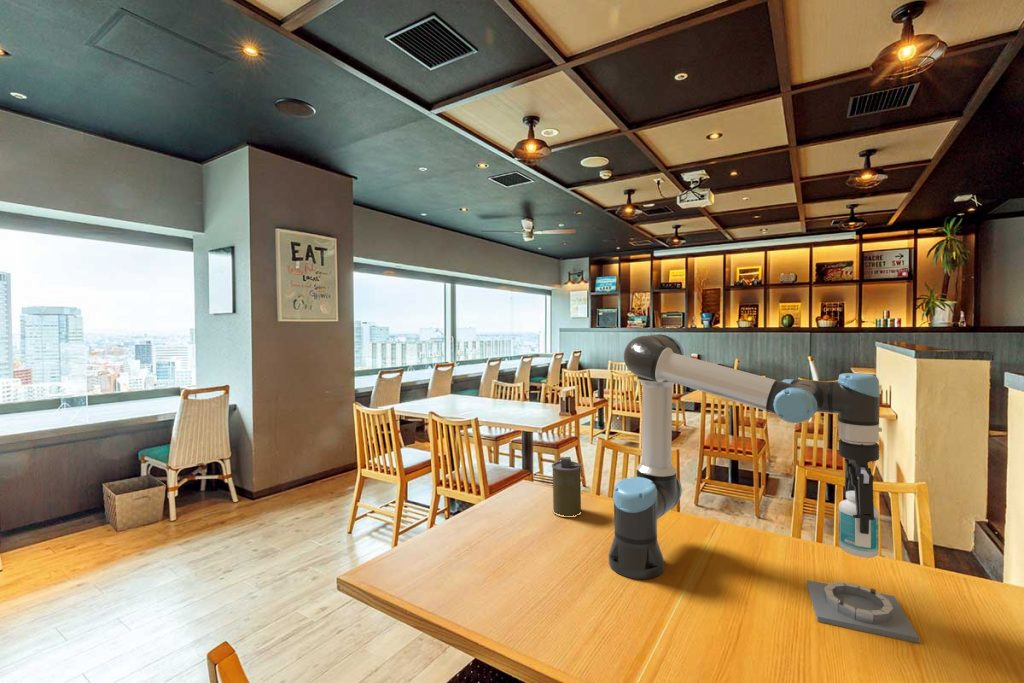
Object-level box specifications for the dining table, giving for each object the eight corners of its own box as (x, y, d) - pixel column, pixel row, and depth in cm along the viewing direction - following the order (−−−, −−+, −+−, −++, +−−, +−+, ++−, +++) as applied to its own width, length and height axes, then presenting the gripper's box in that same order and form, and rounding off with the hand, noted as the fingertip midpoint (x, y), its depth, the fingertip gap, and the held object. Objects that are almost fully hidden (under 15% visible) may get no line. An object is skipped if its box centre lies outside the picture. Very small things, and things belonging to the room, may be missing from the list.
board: (817, 621, 104) (817, 616, 104) (806, 584, 119) (806, 579, 119) (919, 643, 97) (919, 637, 96) (894, 600, 111) (894, 595, 111)
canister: (551, 517, 163) (550, 462, 162) (553, 505, 173) (552, 453, 172) (582, 519, 161) (581, 462, 160) (583, 507, 171) (582, 454, 170)
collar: (830, 614, 104) (830, 603, 104) (820, 585, 116) (820, 575, 116) (900, 629, 99) (900, 617, 99) (882, 597, 111) (882, 586, 110)
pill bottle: (886, 560, 102) (886, 501, 102) (848, 558, 104) (848, 499, 103) (867, 544, 110) (867, 488, 109) (832, 542, 111) (832, 487, 111)
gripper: (893, 454, 95) (892, 562, 96) (866, 431, 113) (866, 522, 114) (849, 450, 98) (849, 555, 99) (829, 429, 117) (829, 518, 118)
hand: (858, 537), depth 107 cm, fingers closed on pill bottle, 7 cm apart
